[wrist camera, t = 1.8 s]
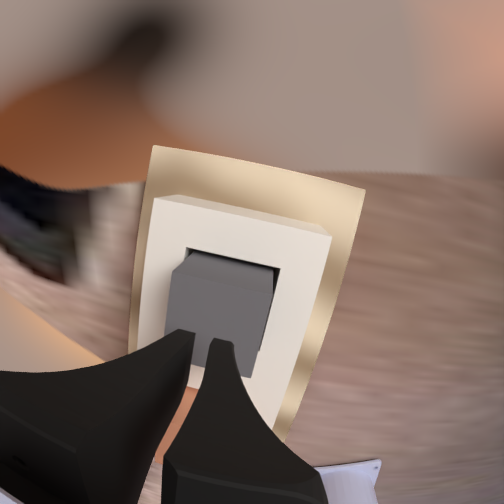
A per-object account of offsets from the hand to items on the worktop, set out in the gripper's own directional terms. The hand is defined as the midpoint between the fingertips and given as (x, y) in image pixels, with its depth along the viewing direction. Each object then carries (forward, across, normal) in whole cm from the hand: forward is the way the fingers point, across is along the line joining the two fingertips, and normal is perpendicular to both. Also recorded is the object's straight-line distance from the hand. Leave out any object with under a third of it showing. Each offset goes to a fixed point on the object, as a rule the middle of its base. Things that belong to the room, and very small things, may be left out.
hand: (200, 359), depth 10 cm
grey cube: (+6, 0, 0) cm, 6 cm away
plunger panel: (+10, 0, +4) cm, 11 cm away
